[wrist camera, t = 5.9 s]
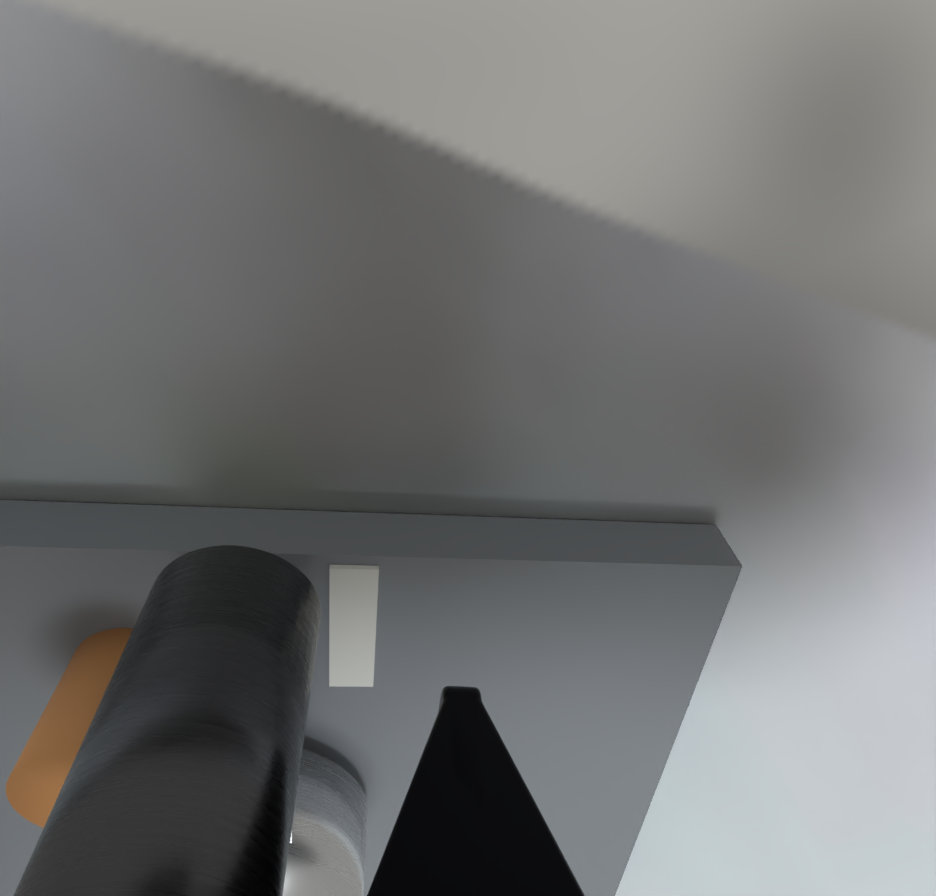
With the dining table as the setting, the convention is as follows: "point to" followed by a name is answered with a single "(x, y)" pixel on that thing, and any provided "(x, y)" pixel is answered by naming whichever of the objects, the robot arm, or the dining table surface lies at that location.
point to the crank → (208, 751)
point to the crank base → (388, 649)
